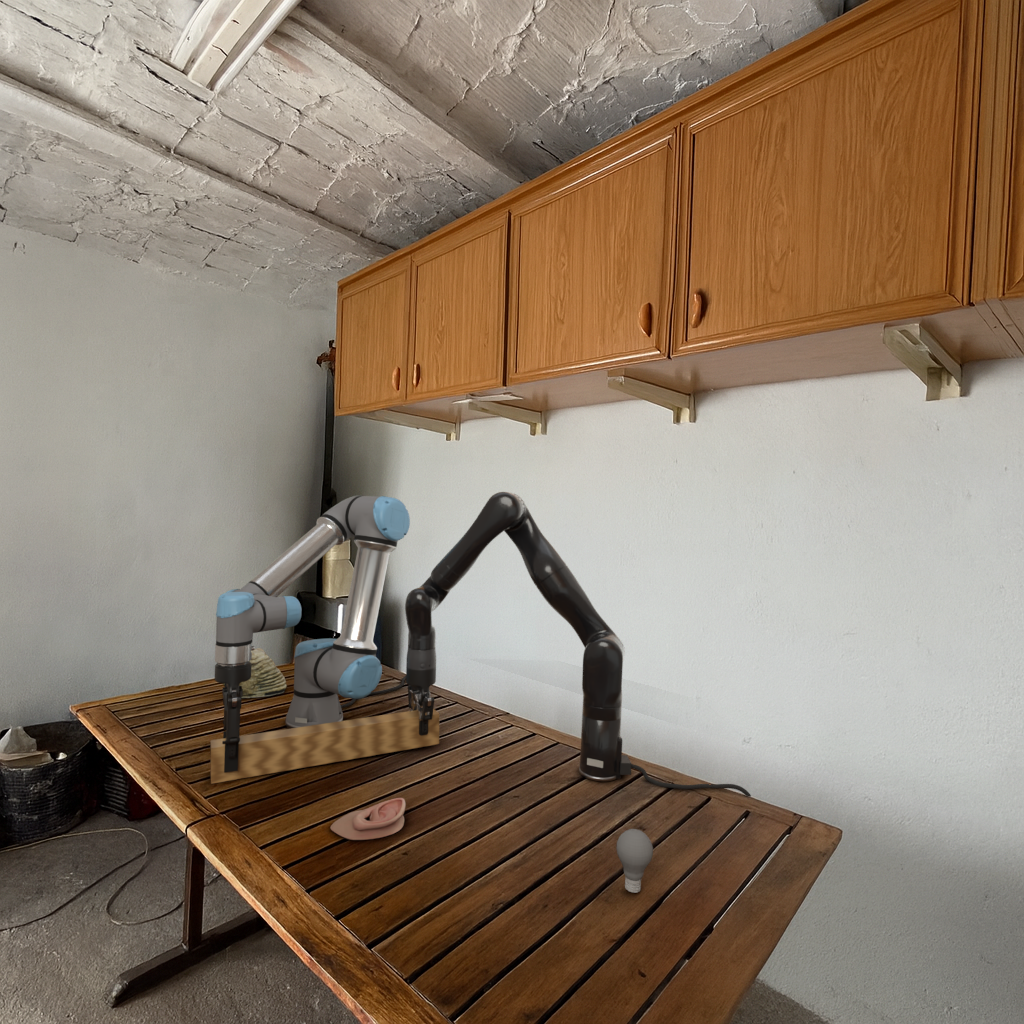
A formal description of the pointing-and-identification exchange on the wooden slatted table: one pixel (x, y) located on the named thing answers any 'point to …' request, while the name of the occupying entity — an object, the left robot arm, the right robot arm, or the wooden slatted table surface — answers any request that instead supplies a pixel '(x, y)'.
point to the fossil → (263, 677)
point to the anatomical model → (372, 821)
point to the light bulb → (634, 857)
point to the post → (322, 744)
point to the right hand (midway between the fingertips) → (419, 730)
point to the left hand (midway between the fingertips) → (229, 764)
